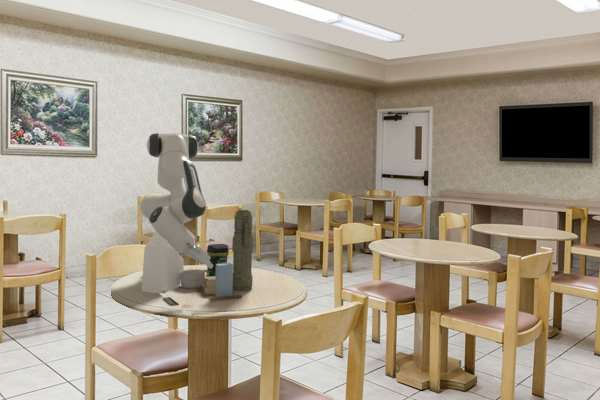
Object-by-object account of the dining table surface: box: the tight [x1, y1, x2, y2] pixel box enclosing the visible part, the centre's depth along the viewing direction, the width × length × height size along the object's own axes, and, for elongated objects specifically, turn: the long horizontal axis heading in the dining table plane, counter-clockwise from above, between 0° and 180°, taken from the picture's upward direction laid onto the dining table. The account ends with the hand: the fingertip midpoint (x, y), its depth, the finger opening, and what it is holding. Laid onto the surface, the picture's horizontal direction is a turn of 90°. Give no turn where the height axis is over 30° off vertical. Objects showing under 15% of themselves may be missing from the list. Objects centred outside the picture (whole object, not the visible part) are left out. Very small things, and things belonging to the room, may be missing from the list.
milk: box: [141, 229, 181, 295], centre depth 225 cm, size 12×12×26 cm
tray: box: [195, 287, 243, 302], centre depth 216 cm, size 18×13×2 cm
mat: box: [162, 296, 180, 306], centre depth 209 cm, size 10×10×1 cm
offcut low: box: [202, 284, 215, 294], centre depth 220 cm, size 5×10×3 cm, turn 121°
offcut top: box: [204, 276, 216, 287], centre depth 220 cm, size 5×9×3 cm, turn 121°
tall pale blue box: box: [215, 262, 234, 297], centre depth 213 cm, size 4×6×13 cm, turn 121°
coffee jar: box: [206, 243, 230, 277], centre depth 238 cm, size 10×8×19 cm
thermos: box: [232, 209, 254, 292], centre depth 226 cm, size 9×12×35 cm
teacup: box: [180, 268, 209, 290], centre depth 230 cm, size 14×11×8 cm
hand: (207, 264), depth 209 cm, fingers open, 8 cm apart
